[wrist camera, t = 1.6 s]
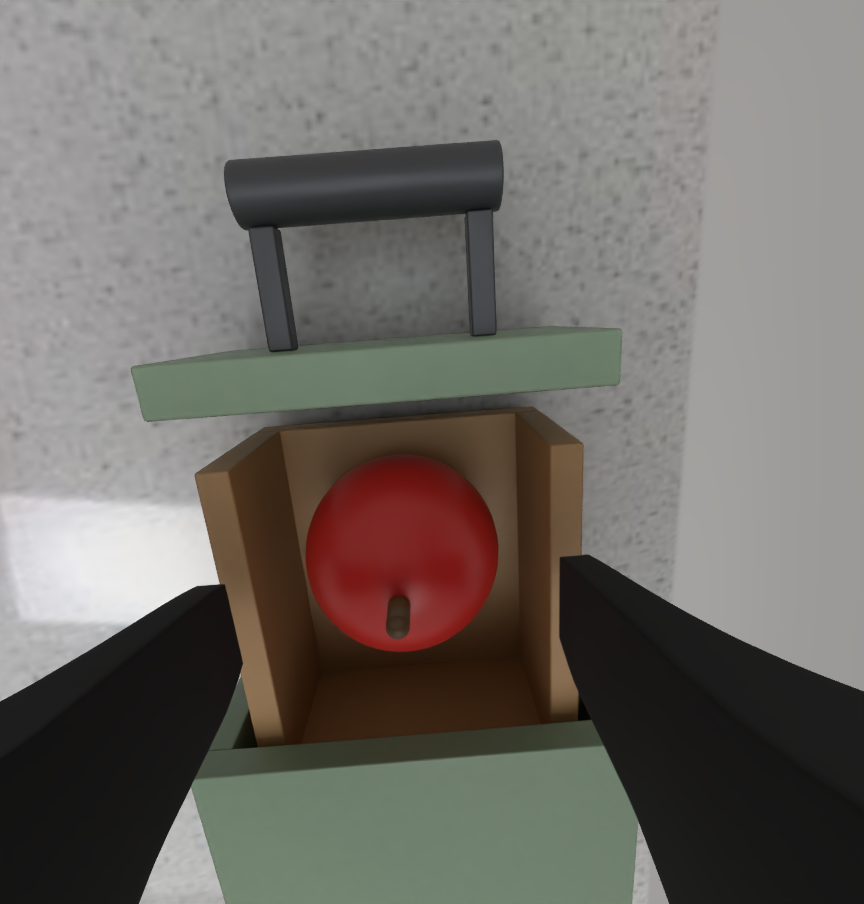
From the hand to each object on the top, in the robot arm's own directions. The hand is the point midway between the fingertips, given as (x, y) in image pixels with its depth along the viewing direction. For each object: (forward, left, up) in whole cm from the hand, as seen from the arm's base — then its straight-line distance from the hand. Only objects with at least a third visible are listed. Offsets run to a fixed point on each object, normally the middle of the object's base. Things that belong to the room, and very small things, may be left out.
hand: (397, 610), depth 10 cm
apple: (0, 0, -6) cm, 6 cm away
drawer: (+1, -1, -7) cm, 7 cm away
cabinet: (-6, +10, -8) cm, 14 cm away
